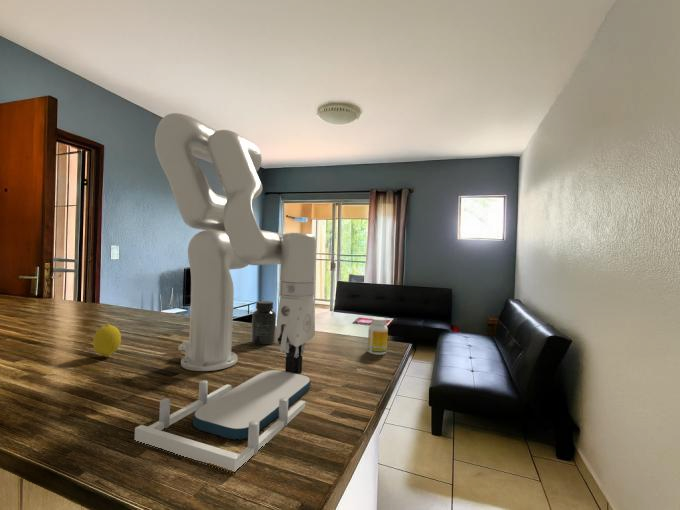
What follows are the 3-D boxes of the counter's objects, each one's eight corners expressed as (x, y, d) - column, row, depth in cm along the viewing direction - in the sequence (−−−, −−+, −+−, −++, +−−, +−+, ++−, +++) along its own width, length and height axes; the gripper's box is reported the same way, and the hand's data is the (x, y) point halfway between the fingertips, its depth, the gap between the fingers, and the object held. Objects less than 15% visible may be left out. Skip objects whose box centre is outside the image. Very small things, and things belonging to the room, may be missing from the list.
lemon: (86, 358, 79) (88, 324, 79) (110, 352, 84) (111, 320, 84) (102, 362, 77) (103, 327, 77) (125, 355, 82) (126, 323, 82)
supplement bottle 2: (363, 351, 94) (365, 317, 94) (377, 348, 98) (378, 315, 98) (377, 356, 90) (378, 321, 90) (390, 353, 94) (392, 319, 94)
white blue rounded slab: (245, 447, 47) (246, 433, 47) (182, 428, 51) (183, 415, 51) (315, 386, 69) (316, 377, 69) (268, 377, 73) (268, 367, 73)
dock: (133, 440, 47) (134, 412, 47) (226, 389, 65) (226, 368, 65) (235, 474, 41) (237, 441, 41) (306, 407, 59) (307, 384, 59)
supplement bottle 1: (256, 338, 103) (258, 299, 103) (277, 340, 102) (279, 301, 102) (247, 344, 96) (249, 303, 96) (270, 346, 95) (271, 304, 95)
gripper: (296, 294, 64) (292, 389, 64) (325, 288, 78) (322, 366, 78) (263, 291, 67) (259, 383, 67) (297, 285, 81) (293, 361, 81)
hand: (293, 373), depth 73 cm, fingers closed
